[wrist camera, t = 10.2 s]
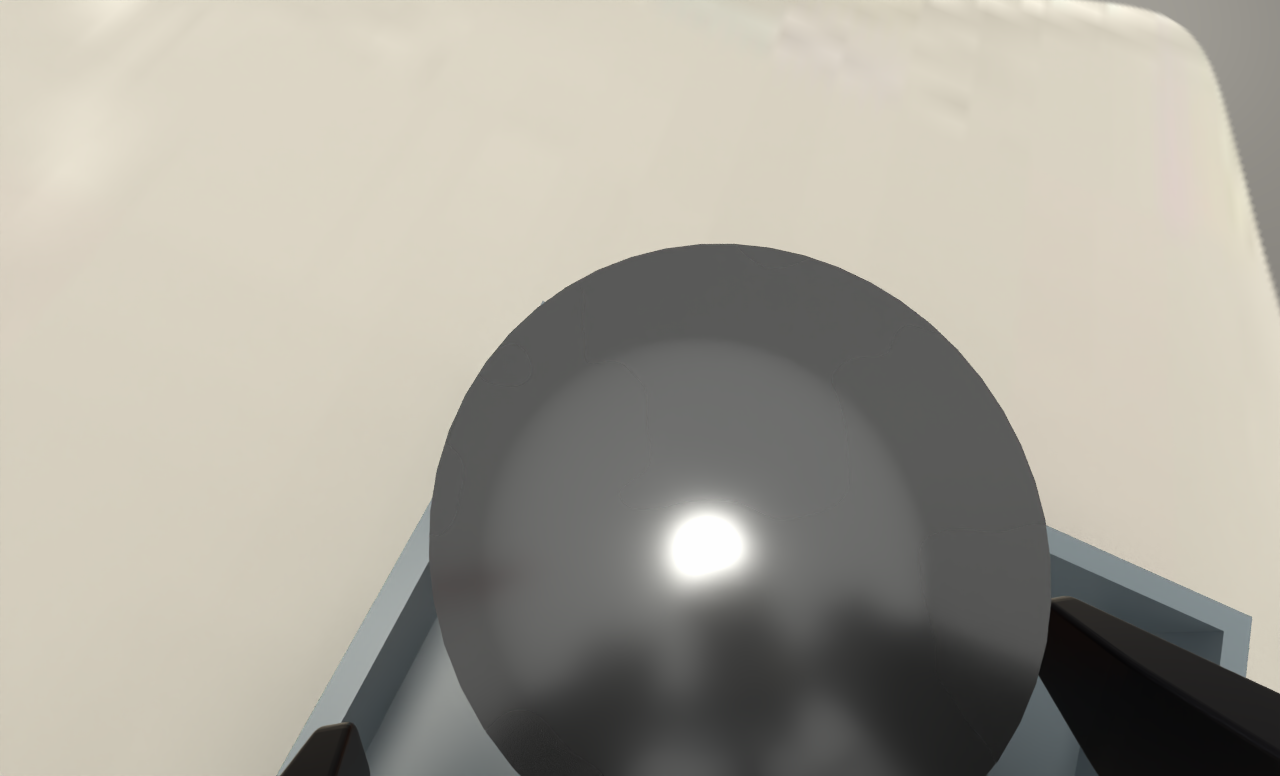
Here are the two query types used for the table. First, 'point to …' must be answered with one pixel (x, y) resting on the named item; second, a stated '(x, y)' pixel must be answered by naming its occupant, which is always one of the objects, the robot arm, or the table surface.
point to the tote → (478, 772)
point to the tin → (738, 531)
